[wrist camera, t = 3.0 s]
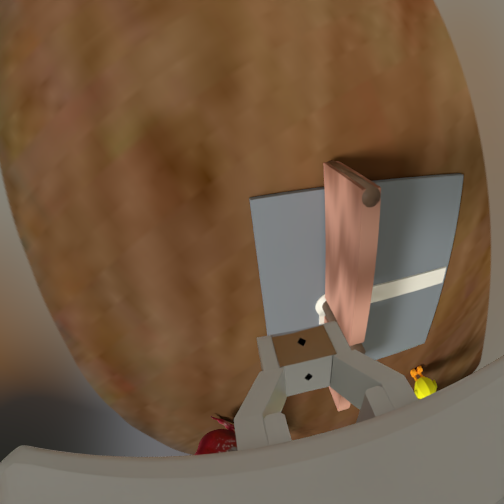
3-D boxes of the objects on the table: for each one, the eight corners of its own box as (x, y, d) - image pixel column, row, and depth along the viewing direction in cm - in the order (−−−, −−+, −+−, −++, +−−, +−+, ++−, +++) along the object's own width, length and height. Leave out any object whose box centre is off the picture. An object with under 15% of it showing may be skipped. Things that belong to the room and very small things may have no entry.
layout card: (249, 197, 22) (250, 201, 21) (460, 173, 23) (464, 175, 22) (273, 382, 33) (274, 387, 32) (422, 340, 34) (425, 343, 34)
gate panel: (337, 295, 27) (364, 341, 21) (324, 297, 26) (349, 346, 21) (338, 159, 20) (381, 185, 15) (323, 161, 20) (362, 187, 15)
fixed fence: (320, 295, 27) (347, 351, 21) (336, 292, 27) (366, 345, 21) (317, 363, 32) (336, 413, 26) (331, 359, 32) (351, 408, 26)
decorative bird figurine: (196, 397, 33) (199, 473, 24) (278, 437, 41) (291, 492, 32) (179, 406, 33) (180, 478, 25) (263, 443, 42) (274, 497, 33)
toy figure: (406, 363, 36) (444, 431, 26) (427, 352, 36) (468, 416, 26) (405, 385, 40) (437, 446, 29) (424, 375, 39) (458, 433, 29)
